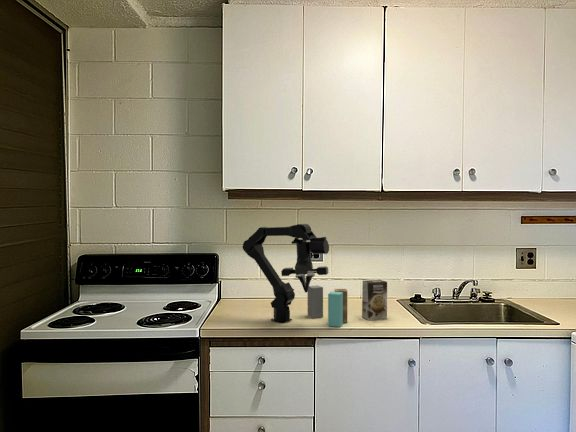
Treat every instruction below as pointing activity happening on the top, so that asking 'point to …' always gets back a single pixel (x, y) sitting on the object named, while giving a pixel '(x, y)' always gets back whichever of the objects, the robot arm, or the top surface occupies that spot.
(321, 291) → the charcoal block
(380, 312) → the coffee box
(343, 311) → the walnut block
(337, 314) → the teal block
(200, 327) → the top surface
